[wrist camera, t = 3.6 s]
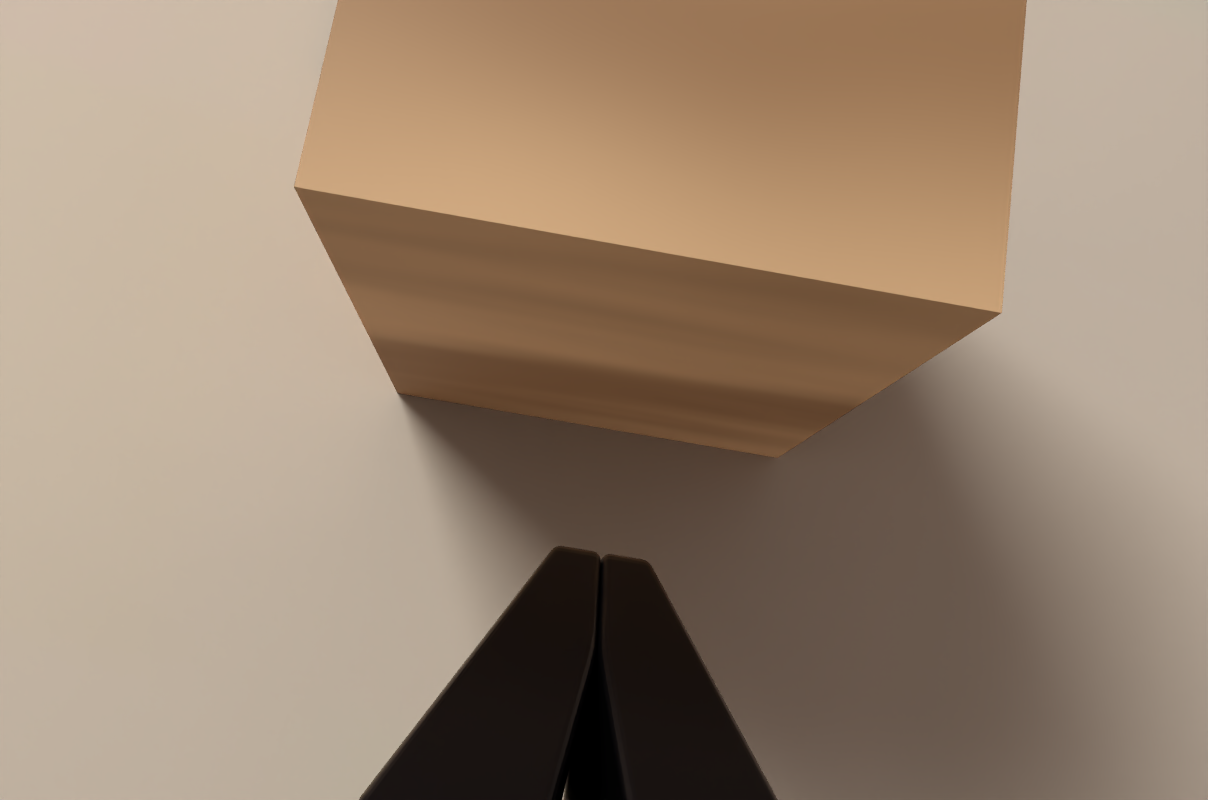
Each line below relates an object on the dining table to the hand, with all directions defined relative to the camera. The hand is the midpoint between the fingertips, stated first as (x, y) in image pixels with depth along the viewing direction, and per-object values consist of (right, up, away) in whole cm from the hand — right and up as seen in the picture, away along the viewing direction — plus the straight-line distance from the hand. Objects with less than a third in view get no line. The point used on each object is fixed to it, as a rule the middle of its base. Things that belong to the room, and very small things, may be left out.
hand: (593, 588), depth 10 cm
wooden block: (0, +3, +8) cm, 8 cm away
